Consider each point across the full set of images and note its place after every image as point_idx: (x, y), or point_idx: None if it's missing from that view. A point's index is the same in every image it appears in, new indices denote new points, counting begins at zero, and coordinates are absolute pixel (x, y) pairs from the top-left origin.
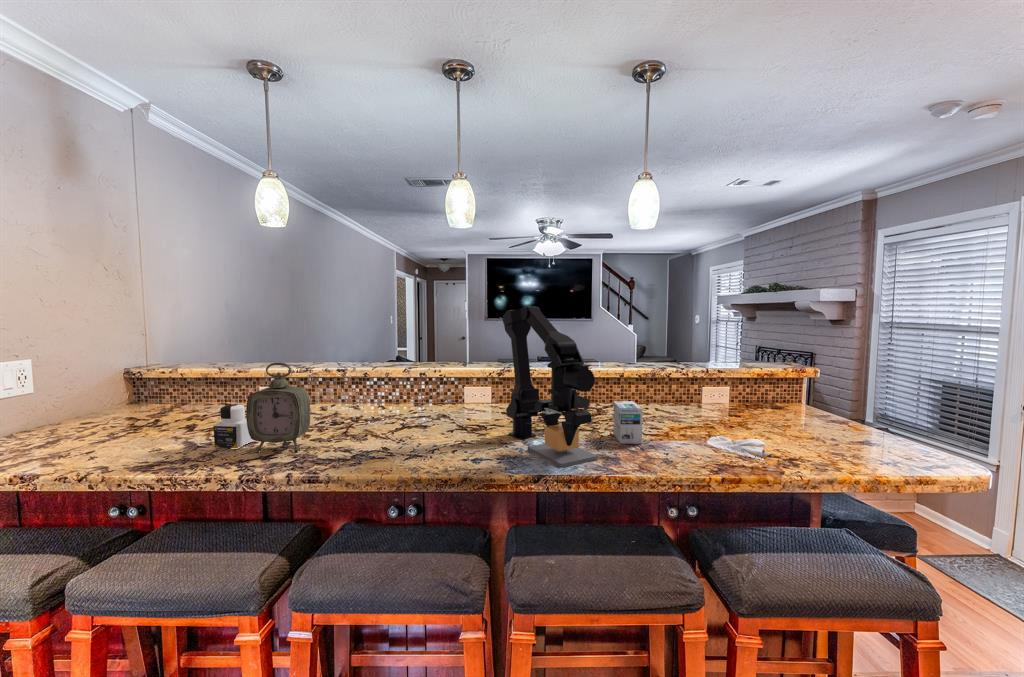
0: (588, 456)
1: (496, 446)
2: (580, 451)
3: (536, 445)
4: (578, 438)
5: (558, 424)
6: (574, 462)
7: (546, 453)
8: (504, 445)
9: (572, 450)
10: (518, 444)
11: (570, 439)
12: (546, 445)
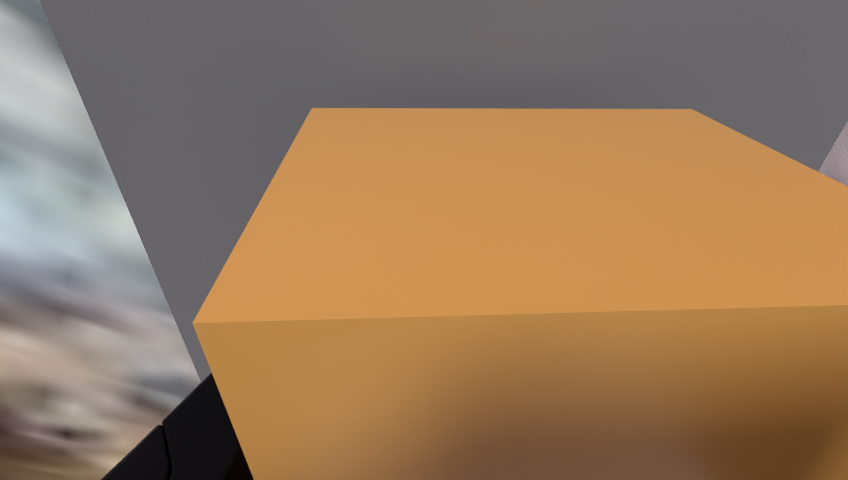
0: (831, 75)
1: (60, 472)
2: (642, 33)
3: (189, 328)
4: (797, 168)
5: (255, 477)
6: None
7: None
8: (40, 436)
9: (541, 107)
10: (20, 361)
11: None
12: (223, 256)
